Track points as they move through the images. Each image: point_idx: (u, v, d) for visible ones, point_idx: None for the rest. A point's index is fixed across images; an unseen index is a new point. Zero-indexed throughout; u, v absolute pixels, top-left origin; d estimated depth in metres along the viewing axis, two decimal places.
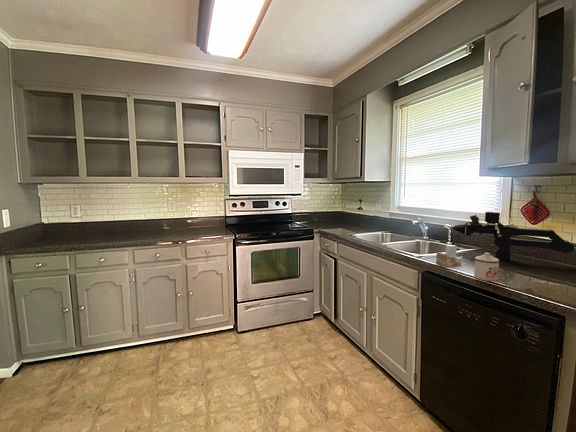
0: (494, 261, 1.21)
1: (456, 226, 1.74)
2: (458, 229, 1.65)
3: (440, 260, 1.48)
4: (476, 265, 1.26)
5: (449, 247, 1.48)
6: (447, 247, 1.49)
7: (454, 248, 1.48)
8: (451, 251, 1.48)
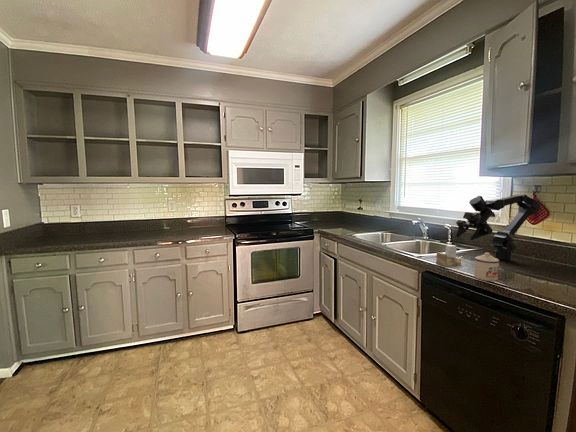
0: (494, 261, 1.21)
1: (458, 234, 1.55)
2: (477, 235, 1.46)
3: (440, 260, 1.48)
4: (476, 265, 1.26)
5: (449, 247, 1.48)
6: (447, 247, 1.49)
7: (454, 248, 1.48)
8: (451, 251, 1.48)
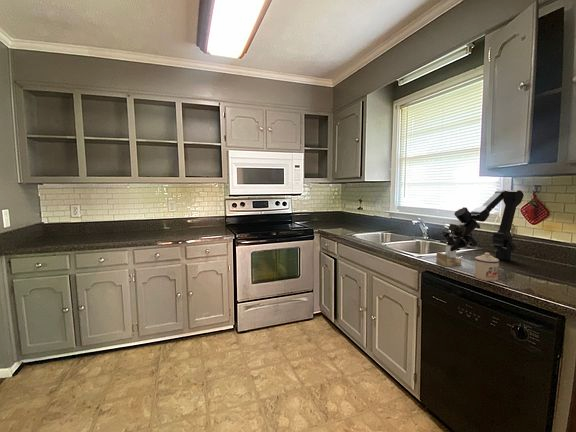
0: (494, 261, 1.21)
1: None
2: (457, 247, 1.47)
3: (440, 260, 1.48)
4: (476, 265, 1.26)
5: (449, 247, 1.48)
6: (447, 247, 1.49)
7: None
8: (451, 251, 1.48)
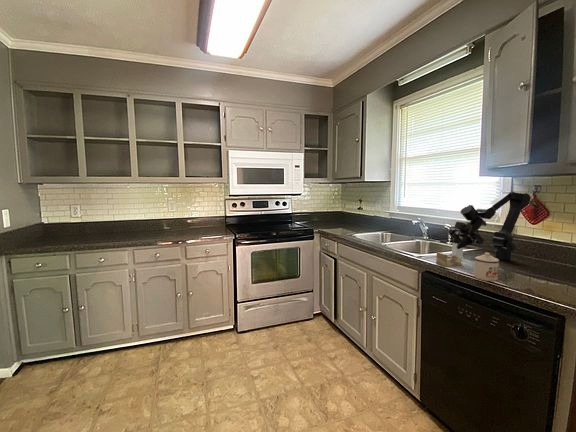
0: (494, 261, 1.21)
1: None
2: (463, 244, 1.48)
3: (440, 260, 1.48)
4: (476, 265, 1.26)
5: (456, 245, 1.49)
6: (454, 245, 1.50)
7: None
8: (457, 249, 1.49)
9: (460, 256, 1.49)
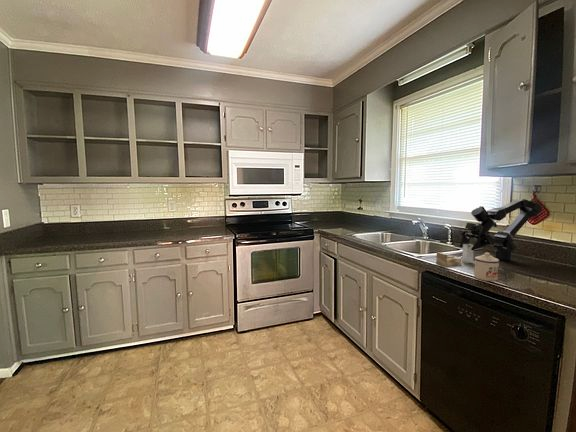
0: (494, 261, 1.21)
1: (461, 245, 1.55)
2: (477, 246, 1.47)
3: (440, 260, 1.48)
4: (476, 265, 1.26)
5: (466, 246, 1.50)
6: (464, 246, 1.51)
7: (471, 247, 1.50)
8: (468, 250, 1.50)
9: (471, 257, 1.51)
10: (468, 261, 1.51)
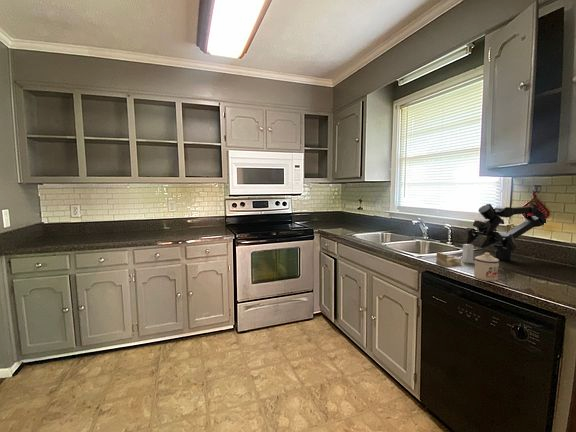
0: (494, 261, 1.21)
1: (468, 242, 1.57)
2: (487, 243, 1.47)
3: (440, 260, 1.48)
4: (476, 265, 1.26)
5: (466, 246, 1.50)
6: (464, 246, 1.52)
7: (471, 247, 1.50)
8: (468, 250, 1.50)
9: (471, 257, 1.51)
10: (468, 261, 1.51)
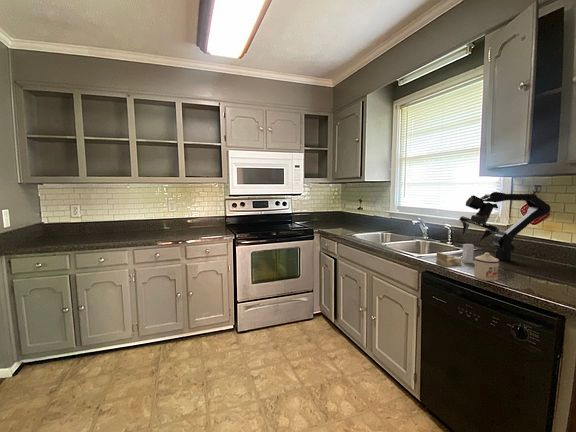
0: (494, 261, 1.21)
1: (464, 233, 1.62)
2: (485, 236, 1.54)
3: (440, 260, 1.48)
4: (476, 265, 1.26)
5: (466, 246, 1.50)
6: (464, 246, 1.52)
7: (471, 247, 1.50)
8: (468, 250, 1.50)
9: (471, 257, 1.51)
10: (468, 261, 1.51)
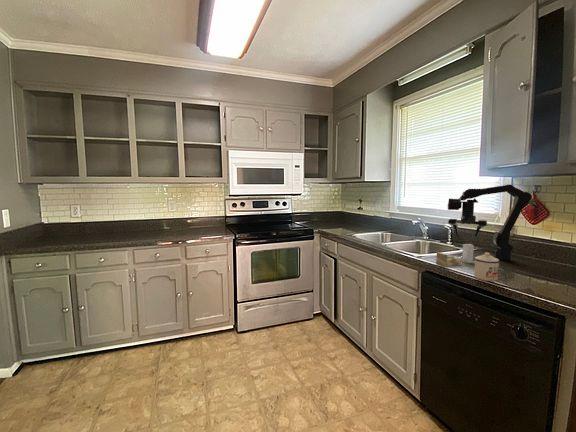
0: (494, 261, 1.21)
1: (457, 233, 1.67)
2: (478, 231, 1.61)
3: (440, 260, 1.48)
4: (476, 265, 1.26)
5: (466, 246, 1.50)
6: (464, 246, 1.52)
7: (471, 247, 1.50)
8: (468, 250, 1.50)
9: (471, 257, 1.51)
10: (468, 261, 1.51)
